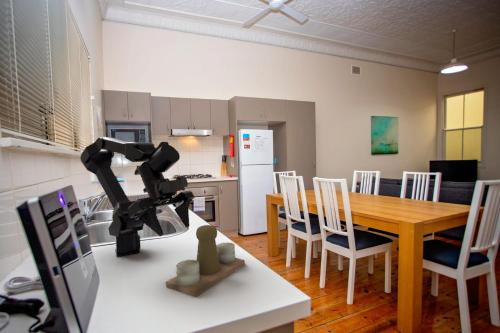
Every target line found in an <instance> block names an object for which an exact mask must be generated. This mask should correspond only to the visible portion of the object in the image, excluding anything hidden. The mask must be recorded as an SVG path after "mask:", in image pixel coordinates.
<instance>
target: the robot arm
mask: <svg viewBox="0 0 500 333" xmlns="http://www.w3.org/2000/svg"><path fill="white" fill-rule="evenodd" d="M115 153H116V154H120V155H123V156H124V158H125V159H126V160H128V161H129V162H132V163H141V164H139V165H136V169H135V170H134V176H138V175H139V177H140V178H141V180H142V183H143V185H144V188H143V189H142V190H143V193H144V194H145V193H147V195H148V197H143V198H137V199H135V200H130V199H129V198H128V196H127V194H126V193H125V190H124V189H123V187H122V185H121V184H120V183H121V182H119V179H118V178H117V176H116V175H115V173H114V172H113V169H112V168H111V167H112V163H113V160H112V159H114V157H115ZM179 160H180V153H179V151H178V150H177V149H176V148H175V147H174V146H172V145H170V144H169V141H160V143H159V144H158V145H157V146H156V147H155V144H154V143H153V142H142V141H141V142H140V141H139V142H138V141H126V140H122V139H117V138H114V137H112V136H111V137H109V136H100V137H98V138H97V139H96V140H95V141H94V142H92V143H90V144H89V145H87V146H86V147H85V148H84V149H83V151H82V152H81V154H80V162H81V163H82V165H83V166H84V168H85V169H86V170H87V171H88V172H90V173H92V174H93V175H95V177H96V178H97V180H98V182H99V184H100V186H101V187H102V189H103V192H104V194H105V195H106V196H107V199H108V201H109V202H110V204H111V206H112V209H113V210H112V215H111V217H112V221H111V222H110V225H109V226H108V228H107V230H108V233H109V236H111V237H112V236H113V237H114V238H115V256H116V257H117V258H118V257H123V256H127V255H133V254H139V253H140V249H141V236H140V234H139V232H140V231H143V230H144V225H146V226H147V227H148V228H149V229H151V230H152V231H153V232H154V233H155V234H157V235H158V237H162V236H164V231H163V228H162V224H161V223H160V220H159V218H158V216H157V208H162V207H166V206H170V205H172V207H174V208H173V210H174V212H175V213H176V215H177V216H178V218H179V220H180V221H181V222H182V224H183V225H184V227H185V228H187V229H188V228H189V227H190V214H189V212H190V211H189V208H190V205H191V203H192V202H193V200H194V199H195V194H194V193H193V191H191V190H186V188H187V187H188V186H189V182H188V179H187V177H186V176H185V175H181V176H177V177H176V179H170V178H167V177H166V178H165V176H164V174H163V173H166V172H167V171H169V170H170V169H171V168H172V167H173V166H174V165H176V163H177V162H179ZM179 191H180V192H179ZM177 192H179V193H178V194H177Z"/></svg>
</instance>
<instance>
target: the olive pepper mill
mask: <svg viewBox="0 0 500 333" xmlns="http://www.w3.org/2000/svg"><path fill="white" fill-rule="evenodd" d="M217 236H218V230H217V227H216V226H215V225H212V224H204V225H199V226H198V227H197V229H196V232H195V237H196V239H197V240H198V242H197V243H198V244H197V254H196V261H198V262H199V275H212V274H215V273H217V272H219V271H220V265H219V259H218V253H217V247H216V245H217V241H216V238H217Z"/></svg>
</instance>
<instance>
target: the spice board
mask: <svg viewBox="0 0 500 333" xmlns="http://www.w3.org/2000/svg"><path fill="white" fill-rule="evenodd" d="M235 246H236V245H235V243H233V242H226V241H225V242H220V243H216V247H217V253H218V259H219V265H220V271H219V272H217V273H215V274H212V275H199V262H198V261H197V259H196V260H195V259H185V260H182V261H179V262H177V264H176V265H175V266H176V267H175V269H176V276H175V277H173V278H170V279H169V280H167V281H165V286H166V288H168V289H171V290H174V291H176V292H180V293H183V294H185V295H188V296H191V297H193V298H196V297H199V296H200V295H201V294H202V293H204V292H206V291H207V290H209V289H210V288H212V287H213V286H214V285H216V284H218V283H219V282H221V281H222V280H224V279H226V278H227V277H228V276H230V275H231V274H232V273H234V272H236V271H237V270H239V269H240V268H242V267H243V266H245V265H246V261H245V260H246V259H242V258H238V257H236V250H235V248H236V247H235ZM244 264H245V265H244ZM241 266H242V267H241ZM238 268H239V269H238ZM235 270H236V271H235Z"/></svg>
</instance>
